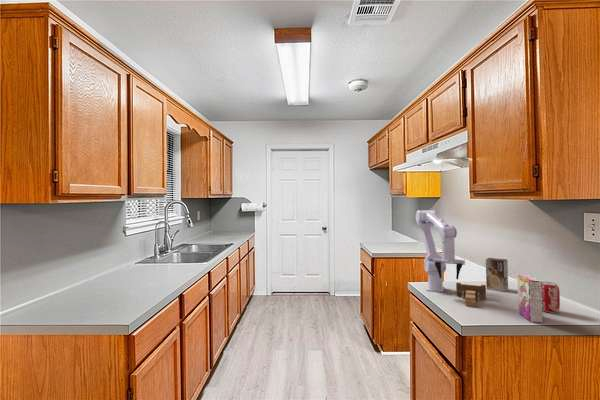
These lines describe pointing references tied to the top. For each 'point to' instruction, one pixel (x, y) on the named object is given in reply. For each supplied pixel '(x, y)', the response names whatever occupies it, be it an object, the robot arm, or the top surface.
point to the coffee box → (497, 274)
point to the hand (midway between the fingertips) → (448, 278)
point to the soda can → (550, 297)
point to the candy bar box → (530, 298)
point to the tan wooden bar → (470, 298)
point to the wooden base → (479, 290)
